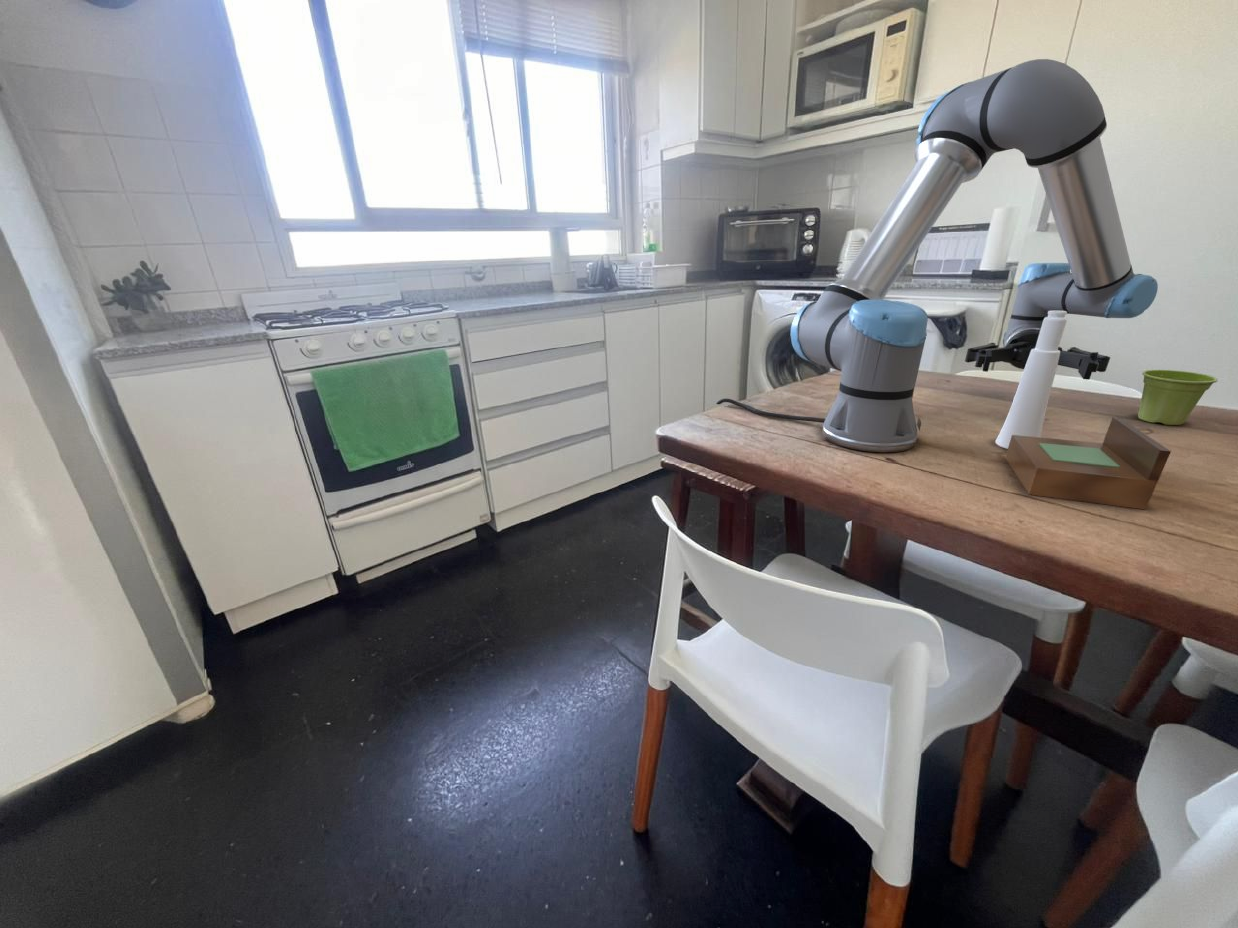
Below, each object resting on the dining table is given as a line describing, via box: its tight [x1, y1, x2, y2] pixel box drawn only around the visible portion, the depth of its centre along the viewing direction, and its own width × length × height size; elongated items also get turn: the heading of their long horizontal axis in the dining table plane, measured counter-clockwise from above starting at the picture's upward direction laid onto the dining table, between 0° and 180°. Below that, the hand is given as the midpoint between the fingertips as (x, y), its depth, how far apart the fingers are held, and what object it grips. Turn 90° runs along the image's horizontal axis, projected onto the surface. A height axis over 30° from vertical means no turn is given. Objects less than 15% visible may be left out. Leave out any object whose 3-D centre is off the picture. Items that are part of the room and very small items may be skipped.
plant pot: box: [1137, 369, 1219, 426], centre depth 91 cm, size 9×9×9 cm
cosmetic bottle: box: [994, 310, 1068, 450], centre depth 79 cm, size 6×6×22 cm
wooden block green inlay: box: [1004, 416, 1172, 510], centre depth 69 cm, size 12×14×8 cm
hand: (1035, 367), depth 84 cm, fingers open, 13 cm apart
